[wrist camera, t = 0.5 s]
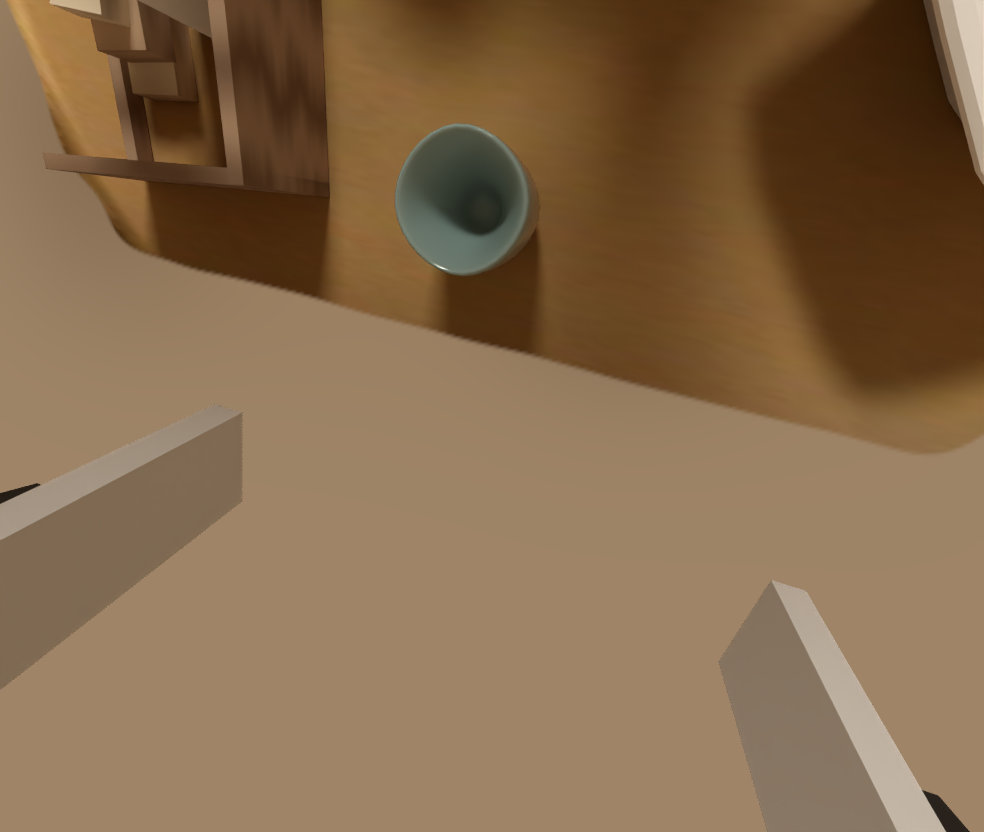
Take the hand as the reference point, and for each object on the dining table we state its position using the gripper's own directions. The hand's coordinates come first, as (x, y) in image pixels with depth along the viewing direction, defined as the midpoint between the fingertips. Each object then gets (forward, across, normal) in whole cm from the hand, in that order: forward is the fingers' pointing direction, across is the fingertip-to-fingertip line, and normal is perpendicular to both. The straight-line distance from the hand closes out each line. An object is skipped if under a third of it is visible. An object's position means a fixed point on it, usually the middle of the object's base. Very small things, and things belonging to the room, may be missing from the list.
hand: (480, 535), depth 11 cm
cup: (+29, -7, +7) cm, 30 cm away
